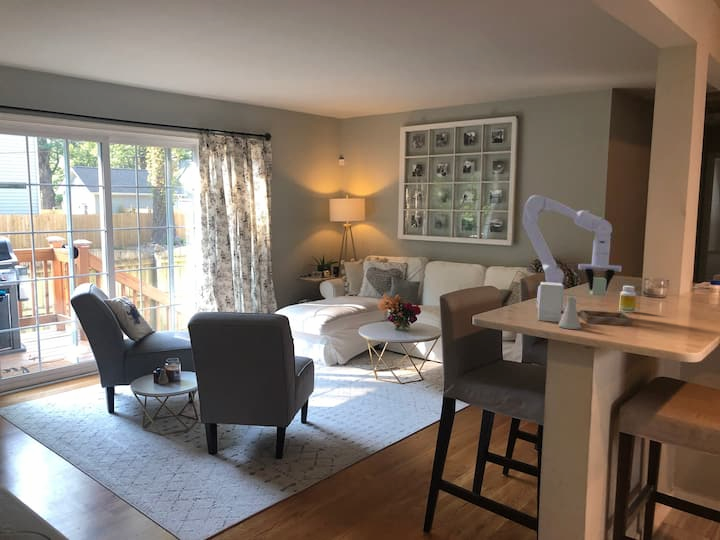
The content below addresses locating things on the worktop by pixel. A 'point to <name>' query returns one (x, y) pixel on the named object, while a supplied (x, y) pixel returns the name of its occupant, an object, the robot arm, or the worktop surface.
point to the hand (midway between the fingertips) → (597, 289)
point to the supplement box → (550, 301)
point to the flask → (570, 315)
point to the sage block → (598, 286)
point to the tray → (605, 317)
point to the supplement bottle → (627, 299)
